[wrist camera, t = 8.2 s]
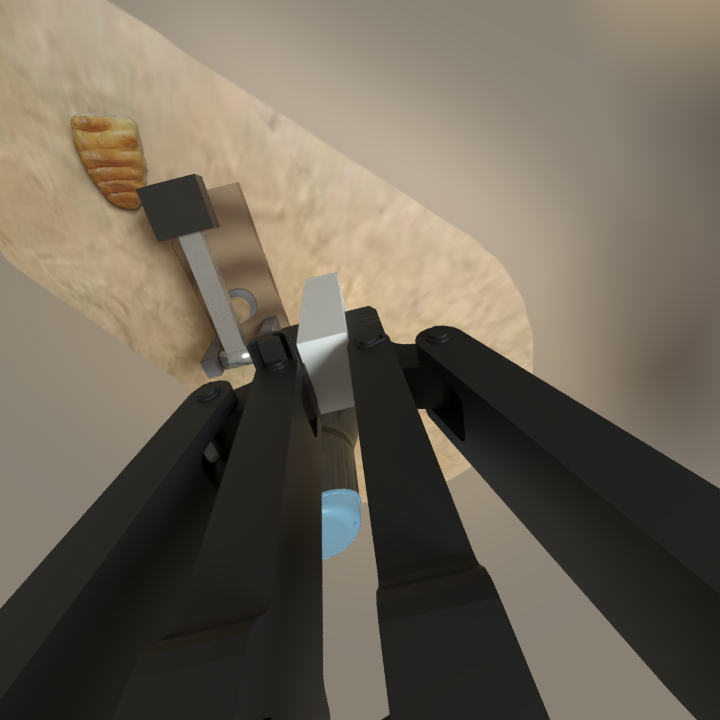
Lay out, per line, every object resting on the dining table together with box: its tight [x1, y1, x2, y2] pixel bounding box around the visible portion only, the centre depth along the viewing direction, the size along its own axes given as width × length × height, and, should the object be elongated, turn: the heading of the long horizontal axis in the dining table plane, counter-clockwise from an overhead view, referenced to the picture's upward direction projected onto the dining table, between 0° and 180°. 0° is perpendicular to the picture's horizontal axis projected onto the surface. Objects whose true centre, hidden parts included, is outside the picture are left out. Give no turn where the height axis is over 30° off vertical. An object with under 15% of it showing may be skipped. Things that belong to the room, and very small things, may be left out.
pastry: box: [70, 114, 148, 209], centre depth 38 cm, size 9×7×4 cm
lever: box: [136, 174, 253, 370], centre depth 38 cm, size 21×6×3 cm, turn 14°
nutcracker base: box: [171, 182, 290, 379], centre depth 42 cm, size 20×10×12 cm, turn 12°
